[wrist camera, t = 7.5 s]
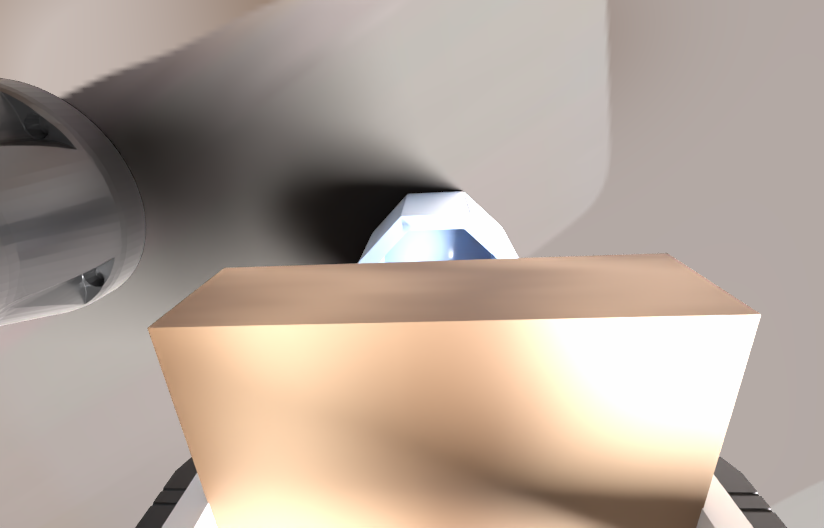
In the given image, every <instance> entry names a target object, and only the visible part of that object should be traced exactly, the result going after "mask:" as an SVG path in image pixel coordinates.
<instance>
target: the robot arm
mask: <svg viewBox="0 0 824 528" xmlns="http://www.w3.org/2000/svg"><path fill="white" fill-rule="evenodd" d="M145 237H146V222H145V213H144V208H143V203H142V200H141V196H140V193H139V190H138V187H137V185H136V183H135V180H134V178H133V176H132V174H131V172H130V170H129V168H128V166H127V165H126V163H125V161H124V160H123V158H122V157H121V155H120V154H119V152H118V151H117V149H116V148H115V147H114V145H113V144H112V143H111V142H110V140H109V139H108V138H107V137H106V136H105V135H104V134H103V133H102V131H101V130H100V129H99V128H98V127H97V126H96V125H95V124H94V123H93V122H91V121H90V120H89V119H88V118H87V117H86V116H85V115H83V114H82V113H81V112H79V111H78V110H77V109H76V108H74V107H73V106H71V105H70V104H68V103H67V102H65V101H63V100H62V99H60V98H59V97H57V96H55V95H53V94H51V93H49V92H47V91H45V90H42V89H40V88H38V87H35V86H32V85H30V84H26V83H22V82H19V81H14V80H10V79H3V78H0V326H4V325H9V324H14V323H19V322H23V321H28V320H33V319H38V318H43V317H48V316H52V315H57V314H62V313H67V312H71V311H74V310H77V309H80V308H82V307H85V306H87V305H89V304H91V303H93V302H95V301H97V300H98V299H100V298H102V297H104V296H105V295H107V294H109V293H110V292H112V291H114V290H115V289H117V288H118V287H120V286H121V285H122V284H123V283H124V282H125V281H126V280H127V279H128V278H129V277H130V276H131V275H132V273H133V272H134V270H135V269H136V267H137V265H138V263H139V261H140V259H141V256H142V253H143V249H144V244H145ZM135 528H217V526H216V523H215V520H214V517H213V514H212V511H211V508H210V505H209V503H208V502H207V499H206V497H205V494H204V491H203V488H202V485H201V482H200V479H199V476H198V473H197V470H196V467H195V465H194V462H193V459H192V457H191V458H190V459H189V460H188V461H187V462H185V463H184V464H183V465H182V466H181V467H180V468H178V469H177V470H176V471H175V473H174V474H173V475H172V477H171V478H170V480H169V481H168V482H167V484H166V485H165V487H164V488H163V491H162V492H160V494H159V495H158V496H157V498H156V499H155V501H154V502H153V506H150V508H149V509H148V511H147V512H146V513H145V515H144V516H143V518H142V519H141V520H140V522H139V523H138V525H137V526H136V527H135ZM696 528H787V527H786V526H785V525H784V523H783V522H782V521H781V520H780V519H779V517H778V516H777V515H776V514H775V513H773V512H772V511H771V508H770V506H769V505H768V504H767V503H766V502H765V500H764V499H763V498H762V497H761V496H759V495H758V492H757V491H756V490H755V488H754V487H753V486H752V485H751V483H750V482H749V481H748V480H747V479H746V478H745V476H744V475H743V474H742V473H741V472H740V471H738V470H737V469H736V468H734V467H733V466H732V465H731V464H729V463H728V462H727V461H725V460H724V459H723V458H721V457H719V458H718V461H717V464H716V468H715V471H714V474H713V478H712V481H711V484H710V488H709V491H708V494H707V498H706V501H705V505H704V508H702V510H701V514H700V517H699V520H698V524H697V527H696Z"/></svg>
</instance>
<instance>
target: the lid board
mask: <svg viewBox="0 0 824 528" xmlns="http://www.w3.org/2000/svg"><path fill="white" fill-rule="evenodd" d="M760 316H761V314H760V313H758V312H757V311H755V310H753V309H752V308H751V307H749V306H748V305H746V304H744V303H743V302H741V301H740V300H738V299H737V298H735V297H734V296H732V295H731V294H729V293H728V292H726V291H725V290H723V289H721V288H720V287H718V286H717V285H715V284H714V283H712V282H711V281H709V280H708V279H706V278H705V277H703V276H701V275H700V274H698V273H697V272H695V271H694V270H692V269H691V268H689V267H688V266H686V265H685V264H683V263H681V262H680V261H678V260H677V259H675V258H674V257H672V256H671V255H669V254H668V253H660V254H631V255H630V254H629V255H600V256H599V255H598V256H570V257H569V256H568V257H537V258H507V259H477V260H447V261H416V262H386V263H356V264H325V265H295V266H265V267H235V268H224V269H222V270H221V271H220V272H218V273H217V274H216V275H215V276H213V277H212V278H211V279H209V280H208V281H207V282H206V283H204V284H203V285H202V286H200V287H199V288H198V289H197V290H195V291H194V292H193V293H192V294H190V295H189V296H188V297H186V298H185V299H184V300H183V301H181V302H180V303H179V304H177V305H176V306H175V307H174V308H172V309H171V310H170V311H168V312H167V313H166V314H165V315H163V316H162V317H161V318H160V319H158V320H157V321H156V322H154V323H153V324H152V325H151V326H149V327H148V331H149V334H150V337H151V340H152V343H153V345H154V348H155V351H156V354H157V357H158V360H159V363H160V366H161V369H162V372H163V375H164V377H165V380H166V383H167V386H168V389H169V392H170V395H171V398H172V401H173V404H174V406H175V409H176V412H177V415H178V418H179V421H180V424H181V427H182V430H183V433H184V436H185V438H186V441H187V444H188V447H189V450H190V453H191V456H192V459H193V462H194V465H195V467H196V470H197V473H198V476H199V479H200V482H201V485H202V488H203V491H204V494H205V497H206V499H207V502H208V503H209V505H210V508H211V511H212V514H213V517H214V520H215V523H216V526H217V528H696V527H697V524H698V520H699V517H700V514H701V510H702V508H704V505H705V501H706V498H707V494H708V491H709V488H710V484H711V481H712V478H713V474H714V471H715V468H716V464H717V461H718V458H719V454H720V451H721V447H722V444H723V441H724V437H725V434H726V430H727V427H728V423H729V421H730V417H731V414H732V410H733V407H734V404H735V400H736V397H737V394H738V390H739V387H740V383H741V380H742V377H743V374H744V370H745V367H746V363H747V360H748V357H749V353H750V350H751V347H752V343H753V340H754V337H755V333H756V330H757V326H758V323H759V320H760Z"/></svg>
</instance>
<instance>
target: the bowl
mask: <svg viewBox="0 0 824 528" xmlns="http://www.w3.org/2000/svg"><path fill="white" fill-rule="evenodd" d="M507 258H518V256H517V254H516V252H515V250H514V248H513V246H512V244H511V243H510V241H509V239H508V237H507V235H506V233H505V231H504V230H503V228H502V227H501V226H500V225H499V224H498V223H497V222H496V221H495V220H494V219H493V218H492V217H491V216H490V215H489V214H487V213H486V212H485V211H484V210H483V209H482V208H481V207H480V206H479V205H478V204H477V203H476V202H475V201H474V200H472V199H471V198H470V197H469V196H468V195H467V194H466V193H465V192H463V191H456V192H435V193H413V194H407V195H406V196H405V197H404V198H403V199H402V201H401V202H400V203H399V204H398V205H397V206H396V207H395V208H394V209H393V211H392V212H391V213H390V214H389V215H388V216H387V217H386V218H385V219H384V221H383V222H382V223H381V224H380V225H379V226H378V227H377V228H376V229H375V230H374V232H373V233H372V235H371V237H370V239H369V241H368V243H367V245H366V248H365V250H364V252H363V254H362V256H361V258H360V260H359V262H358V263H386V262H416V261H447V260H477V259H507Z"/></svg>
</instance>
